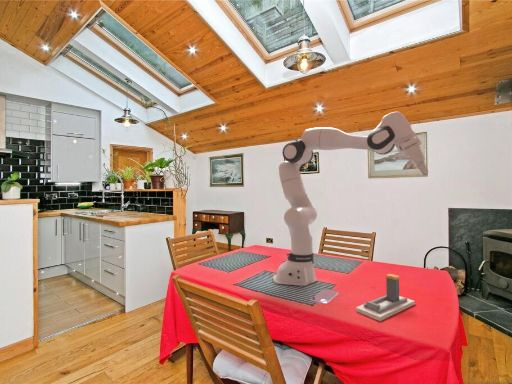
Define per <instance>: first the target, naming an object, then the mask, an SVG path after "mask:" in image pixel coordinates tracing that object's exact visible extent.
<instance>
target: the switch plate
mask: <svg viewBox="0 0 512 384" xmlns="http://www.w3.org/2000/svg"><path fill="white" fill-rule="evenodd" d="M415 303H416V301H415V300H413V299H410V298H408V297H406V296H405V297H404V296H401V295H399V300H398V301H395V302H394V301H391V300H388V299H387V294H385V295H383V296H380V297H378V298H375V299H372V300H368V301H366V302H365V303H362V304H361V305H358V306H356V307H355V312H357V313H359V314H362V315H364V316H366V317H369V318H371V319H373V320H376V321H378V322H382V321H383V320H386V319H388V318H389V317H391V316H394V315H396V314H398V313H400V312H402V311H404V310H406V309H408V308H410V307H412V306H415Z"/></svg>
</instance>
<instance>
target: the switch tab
mask: <svg viewBox="0 0 512 384" xmlns="http://www.w3.org/2000/svg"><path fill="white" fill-rule="evenodd" d="M400 277H401V276H399V275H396V274H393V273H388V274H385V278H386V281H385V283H386V295H387V299H388V300H391V301H394V302H395V301H398V300H399V296H400Z"/></svg>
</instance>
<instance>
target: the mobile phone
mask: <svg viewBox="0 0 512 384" xmlns="http://www.w3.org/2000/svg"><path fill="white" fill-rule="evenodd" d="M338 295H339V291H337V290H332V289H326V288H324V289H322V290H321V291H318V293H317V294H315V295H314V296H312V297H311V298H310V301H312V302H314V303H319V304H324V305H327V304H328V303H330V302H331V301H332V300H333V299H334V298H335V297H337V296H338Z"/></svg>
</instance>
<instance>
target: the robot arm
mask: <svg viewBox="0 0 512 384" xmlns="http://www.w3.org/2000/svg"><path fill="white" fill-rule="evenodd" d="M380 120H381V121H380V122H379V123H378V125H377V126H376V127H375V128H374V129H373V130H372V131H371V132H370V133H369V134H368V135H367V136H366V135H365V136H364V135H352V134H349V133H347V132H345V131H342V130H341V129H338V128H336V127H335V128H334V127H329V126H328V127H327V126H325V127H324V126H323V127H313V128H306V129H305V130H304V131H303V132H302V134H301V139H300V138H296V139H295V140H293V141H290V142H288V143H287V144H285V145H284V147H283V149H282V153H281V154H282V158H284V161H282V162H281V163H280V164H278V174H279V179H280V180H279V181H280V184H281V187H282V191H283V194H284V198H285V199H286V200H287V201H288V203H289V205H290V206H291V207H290V208H288V209H287V210H286V211H285V213H284V214H283V220H284V224H285V225H286V226H287V228H288V231H289V235H290V242H291V243H290V247H291V248H290V249H291V252H290V251H287V252H286V256H287V260H285V261H284V262H283V263H281V264H280V265H279V267H278V268H277V271H276V273H275V274H273V278H272V281H273V282H274V284H276V285H278V284H279V285H287V286H289V285H291V286H293V285H294V286H302V287H303V286H305V287H307V286H308V285H310V284H313V283H315V282H316V281H317V277H316V274H315V273H316V272H315V268H314V264H315V255H314V252H313V251H314V250H313V249H314V248H313V245H314V243H313V237H312V234H311V232H310V228H309V225H312V224H314V222H315V221H316V219H317V217H318V211H317V210H316V208H315V207H314V206H313V205H312V202H311V201H310V198H309V196H308V194H307V192H306V189H305V187H304V183H303V180H302V176H301V173H300V169H301V168H303V167H305V166H306V165H307V164H309V163H310V162H311V161H312V160H313V158H314V150H316V151H317V150H321V151H332V150H333V151H335V150H342V149H343V150H344V149H352V150H353V149H357V150H367V151H372V152H374V153H376V154H378V155H382V156H383V155H387V154H390V153H391V152H392V151H394V148H395V147H396V149H397V151H398V153H399V154H400V155H404V156H405V157H407V156H408V158H409V159H410V160H411V162H412V164H413V165H414V167H415V168H416V169H417V168H418V170H419V171H420V172H421V173H422V176H427V175H428V174H429V169H428V168H427V166H426V163H425V157H424V154H423V152H422V150H421V147H420V146H422V145H421V144H422V142H421V139H420V138H419V137H418V135H417V133H416V132H415V131H414V130H413V129H412V126H411V123H410V122H409V121H408V119H407V117H406V116H405V115H404V114H403V113H402V112H400V111H393V112H392V111H391V112H390V113H387V114H385V115H384V116H383V117H382V118H381V119H380Z"/></svg>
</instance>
